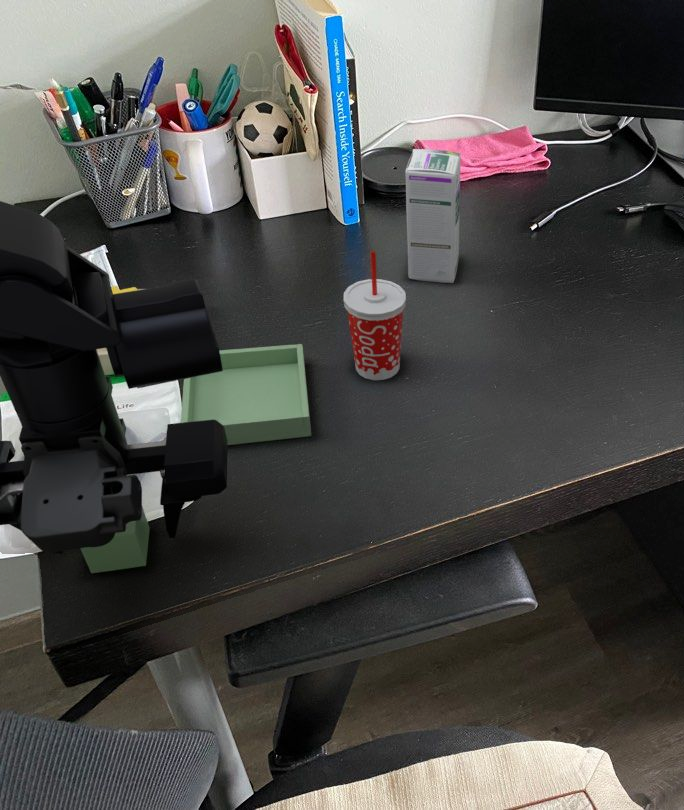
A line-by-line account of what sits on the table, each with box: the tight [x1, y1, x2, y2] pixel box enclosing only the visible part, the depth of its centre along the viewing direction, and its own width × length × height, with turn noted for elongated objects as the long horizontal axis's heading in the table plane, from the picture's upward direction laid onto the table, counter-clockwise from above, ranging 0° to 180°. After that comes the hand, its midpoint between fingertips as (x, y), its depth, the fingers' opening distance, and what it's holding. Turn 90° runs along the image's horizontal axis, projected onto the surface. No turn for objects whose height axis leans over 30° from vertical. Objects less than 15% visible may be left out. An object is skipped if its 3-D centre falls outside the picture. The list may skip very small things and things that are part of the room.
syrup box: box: [404, 148, 462, 284], centre depth 97 cm, size 6×6×14 cm
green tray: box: [180, 343, 312, 446], centre depth 80 cm, size 11×11×3 cm
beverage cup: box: [343, 250, 407, 381], centre depth 82 cm, size 6×6×14 cm
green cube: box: [79, 506, 151, 574], centre depth 65 cm, size 4×4×4 cm
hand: (117, 541), depth 65 cm, fingers open, 8 cm apart
